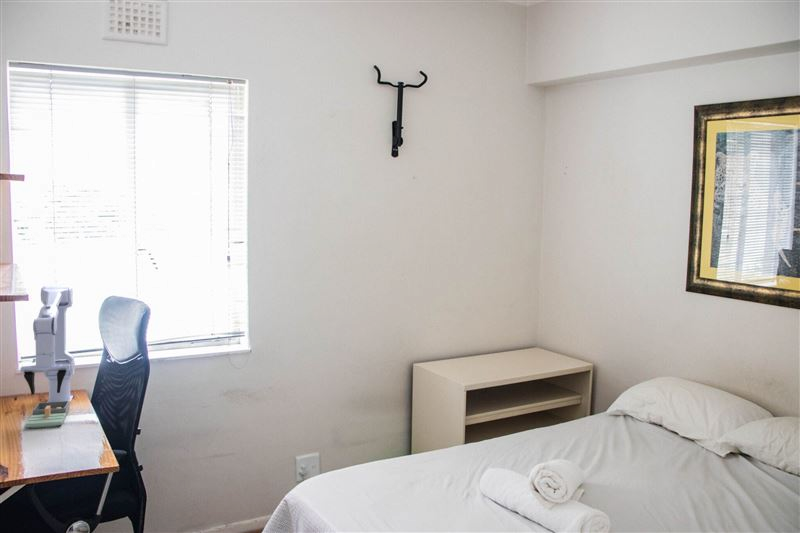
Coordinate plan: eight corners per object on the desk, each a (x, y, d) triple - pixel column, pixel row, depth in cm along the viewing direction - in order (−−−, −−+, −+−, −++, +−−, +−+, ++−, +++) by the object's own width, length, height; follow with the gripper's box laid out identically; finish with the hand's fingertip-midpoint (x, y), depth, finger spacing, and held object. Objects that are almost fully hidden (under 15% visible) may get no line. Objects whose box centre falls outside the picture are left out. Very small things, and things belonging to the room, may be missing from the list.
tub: (38, 411, 233) (38, 402, 232) (69, 409, 236) (69, 400, 236) (32, 419, 223) (32, 410, 223) (65, 417, 227) (65, 408, 226)
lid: (31, 420, 222) (31, 406, 222) (66, 417, 226) (65, 404, 226) (25, 429, 213) (25, 414, 212) (61, 426, 216) (61, 412, 216)
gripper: (18, 356, 214) (19, 397, 214) (68, 354, 219) (68, 394, 219) (22, 352, 220) (23, 392, 221) (70, 350, 225) (71, 389, 226)
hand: (45, 393), depth 221 cm, fingers open, 7 cm apart
